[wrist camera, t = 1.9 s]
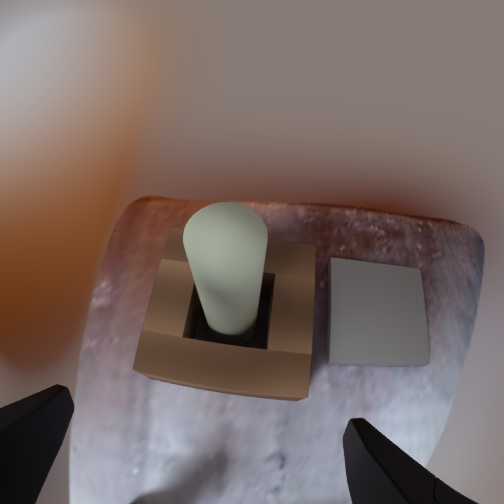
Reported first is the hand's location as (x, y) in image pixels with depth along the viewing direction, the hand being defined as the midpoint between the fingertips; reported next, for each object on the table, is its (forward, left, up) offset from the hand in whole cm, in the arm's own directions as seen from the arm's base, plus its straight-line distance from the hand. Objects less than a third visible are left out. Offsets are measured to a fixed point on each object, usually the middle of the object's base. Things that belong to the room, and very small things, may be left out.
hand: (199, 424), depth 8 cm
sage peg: (+8, +1, -13) cm, 15 cm away
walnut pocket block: (+8, +1, -13) cm, 15 cm away
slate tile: (+10, -11, -13) cm, 20 cm away
